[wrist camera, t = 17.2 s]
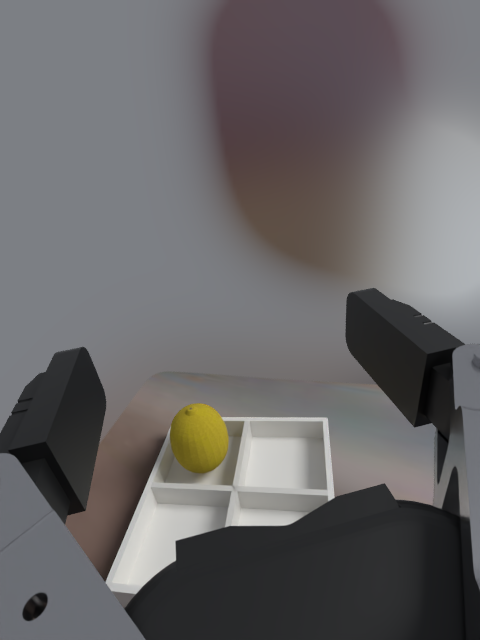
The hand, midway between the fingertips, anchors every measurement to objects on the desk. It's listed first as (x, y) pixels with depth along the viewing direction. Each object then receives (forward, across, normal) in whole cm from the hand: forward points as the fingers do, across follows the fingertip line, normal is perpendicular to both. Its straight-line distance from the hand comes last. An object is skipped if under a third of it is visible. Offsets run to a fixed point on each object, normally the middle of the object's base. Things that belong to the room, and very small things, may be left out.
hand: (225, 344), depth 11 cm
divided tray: (+10, 0, +25) cm, 27 cm away
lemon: (+15, +3, +24) cm, 29 cm away
